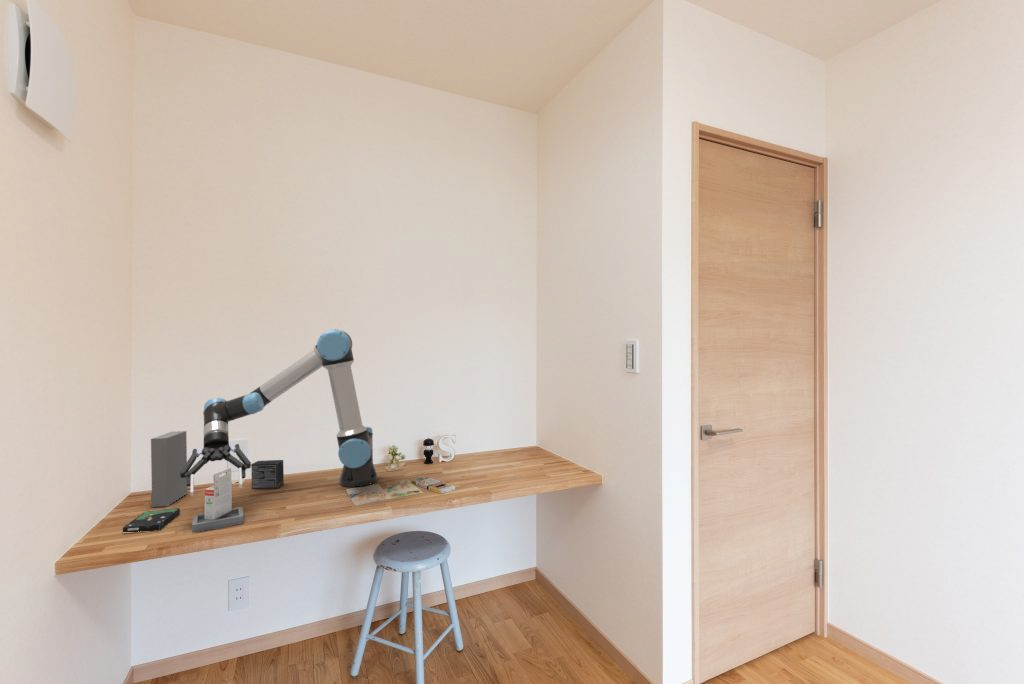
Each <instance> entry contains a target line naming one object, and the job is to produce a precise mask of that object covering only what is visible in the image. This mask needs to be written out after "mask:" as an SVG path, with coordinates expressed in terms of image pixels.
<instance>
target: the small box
mask: <svg viewBox="0 0 1024 684" xmlns="http://www.w3.org/2000/svg"><path fill="white" fill-rule="evenodd" d="M250 469H251V490H252V489H258V490H274V489H275V490H277V489H279V488H281V487H282V486H283V485H285V482H284V479H285V477H284V476H285V474H284V459H273V460H269V459H267V460H257V461H255V462H253V463H251V468H250ZM280 486H281V487H280Z"/></svg>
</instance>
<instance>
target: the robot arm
mask: <svg viewBox="0 0 1024 684" xmlns="http://www.w3.org/2000/svg"><path fill="white" fill-rule="evenodd" d="M354 362H355V359H354V354H353V340H352V337H351V336H350V334H349V333H347V332H346V331H344V330H340V329H336V328H335V329H333V328H332V329H329V330H326V331H324V332H323V333H321V334H320V335H319V337H318V339H317V342H316V344H315V346H314V348H313V350H311V351H310V352H308V353H307V354H306V355H304V356H303V357H301V358H300V359H298V360H297V361H295V362H293V363H292V364H291V365H289V366H288V367H287V368H285V369H283V370H282V371H281V372H279V373H277V374H276V375H275V376H273V377H271V378H270V379H269V380H267V381H266V382H264V383H262V384H261V385H260V386H258V387H257V388H255V389H253V390H252V391H250V392H249V393H247V394H244V395H241V396H238V397H236V398H233V399H229V400H226V399H225V398H221V397H218V398H215V397H214V398H211V399H209V400H207V401H206V402H205V403H204V406H203V407H204V408H203V412H202V413H203V448H202V449H197V448H192V453H191V455H190V457H189V458H188V459H187V463H186V464H185V466H184V467H183V469H182V470H181V472H180V477H181V478H184V477H185V478H187V480H186V484H187V488H190V491H189V492H190V493H189V494H190V497H194V493H195V492H194V491H195V490H194V489H195V487H194V486H195V474H196V473H197V472H199V470H201V468H203V466H205V465H206V464H208V463H209V462H216V461H222V460H225V461H226V462H229V463H230V464H231V465H232V466H234V467H235V468H237V469H238V483H239V489H240V490H241V489H243V479H246V476H247V475H246V471H247V469H251V464H252V462H251V461H250V460H249V459H248V457H247V456H246V454H245V453H244V452H243V451H242V450H241V448H240V444H239V443H236V444H234V445H233V446H230V444H229V443H230V440H229V438H230V437H229V423H230V422H231V421H235V420H237V419H240V418H241V419H242V418H244V417H247V416H250V415H255V414H257V413H258V412H261V411H263V410H264V408H265V407H266V406H267V405H269V404H270V403H272V402H273V401H274V400H276V399H277V398H279V397H280V396H282V395H283V394H284V393H286V392H287V391H289V390H290V389H292V388H293V387H295V386H296V385H297V384H299V383H300V382H301V383H302V381H303V380H304V379H306V378H308V377H309V376H310V375H312V374H314V373H315V372H316V371H318V370H320V369H322V368H324V369H326V371H327V373H328V378H329V383H330V387H331V393H332V399H333V402H334V408H335V413H336V419H337V423H338V427H339V428H338V429H339V431H338V432H337V433H336V441H337V446H338V454H337V455H338V458H339V459H338V460H339V461H340V462H341V464H343V467H342V469H341V473H340V476H339V485H340V486H341V485H342V487H345V488H346V487H347V488H356V487H355V486H361V487H363V486H362V485H366V484H370V483H373V484H375V483H376V482H377V481H378V473H377V470H376V467H375V464H374V458H373V453H374V452H373V451H374V449H373V448H374V447H373V441H374V440H373V435H374V433H373V429H372V427H370V426H365V425H363V421H362V415H361V411H360V407H359V406H360V405H359V401H358V396H357V390H356V387H355V380H354V375H353V371H352V364H353V363H354ZM231 451H232V452H233V453H234V454H235V455H236V456H237V457H238V458H239V459H238V458H236V457H235V456H233V455H232V454H231V453H230V452H231ZM201 455H202V457H201V458H200V459H199V460H198V461H197V462H196V460H197V458H199V457H200V456H201ZM195 462H196V463H195ZM194 463H195V464H194ZM374 482H375V483H374ZM370 485H371V484H370ZM366 486H367V485H366Z"/></svg>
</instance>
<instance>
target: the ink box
mask: <svg viewBox="0 0 1024 684" xmlns="http://www.w3.org/2000/svg"><path fill="white" fill-rule="evenodd" d="M222 474H223V475H222ZM232 499H233V498H232V468H228V469H225V470H223V471H220V472H217V473H214V474H213V485H212V486H209V487H207V488H205V489H204V513H205V519H208V520H214V519H217V518H219V517H221V516H223V515H225V514H227V513H229V512H230V511H232V509H233V507H232V506H233V505H232V503H233V502H232Z"/></svg>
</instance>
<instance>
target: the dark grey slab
mask: <svg viewBox="0 0 1024 684" xmlns="http://www.w3.org/2000/svg"><path fill="white" fill-rule="evenodd" d="M187 441H188V440H187V431H186V430H181V431H180V430H179V431H177V430H176V431H170V432H166V433H164V434H160V435H158V436H156V437H152V438H150V459H151V461H150V462H151V464H150V465H151V471H150V472H151V494H150V502H151V503H149V508H151V507H153V508H157V507H158V508H159V507H160V508H162V507H165V506H168V507H169V506H170V505H172V504H173V502H174V503H175V502H177V501H179V500H180V499H181V497H182V496H183V497H185V496H186V495H185V494H187V493H189V492H188V487H187V484H186V480H187V478H185V477H184V478H181V477H180V472H181V470H182V469H183V467H184V466H185V464H186V463H187V461H188V458H187V457H188V456H187V453H188V452H187V449H188V447H187ZM184 495H185V496H184ZM187 495H188V494H187ZM183 497H182V498H183ZM179 498H180V499H179ZM176 500H177V501H176Z"/></svg>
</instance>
